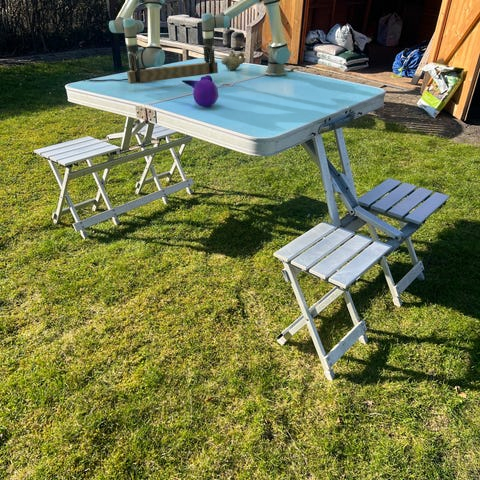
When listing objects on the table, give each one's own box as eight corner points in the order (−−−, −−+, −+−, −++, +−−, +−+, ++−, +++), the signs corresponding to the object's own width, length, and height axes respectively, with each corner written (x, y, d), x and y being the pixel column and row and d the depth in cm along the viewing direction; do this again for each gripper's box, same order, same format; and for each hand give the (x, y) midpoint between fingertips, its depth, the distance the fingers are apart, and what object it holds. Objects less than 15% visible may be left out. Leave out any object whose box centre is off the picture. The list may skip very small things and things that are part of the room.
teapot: (225, 72, 364) (224, 52, 356) (218, 70, 372) (217, 50, 365) (247, 69, 373) (247, 50, 365) (240, 67, 381) (240, 48, 374)
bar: (130, 83, 303) (129, 72, 299) (128, 82, 306) (126, 71, 303) (217, 73, 330) (217, 62, 326) (215, 72, 333) (214, 61, 330)
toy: (206, 98, 286) (218, 113, 265) (179, 93, 279) (189, 108, 258) (211, 72, 278) (224, 86, 257) (184, 67, 271) (195, 81, 250)
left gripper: (142, 45, 289) (146, 83, 301) (133, 42, 303) (137, 78, 315) (130, 46, 286) (135, 84, 298) (122, 43, 300) (127, 79, 312)
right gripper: (218, 38, 312) (220, 73, 324) (207, 36, 326) (209, 70, 337) (209, 39, 309) (210, 74, 321) (198, 37, 322) (200, 71, 334)
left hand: (136, 81), depth 306 cm, fingers closed on bar, 5 cm apart
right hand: (210, 72), depth 329 cm, fingers closed on bar, 5 cm apart
